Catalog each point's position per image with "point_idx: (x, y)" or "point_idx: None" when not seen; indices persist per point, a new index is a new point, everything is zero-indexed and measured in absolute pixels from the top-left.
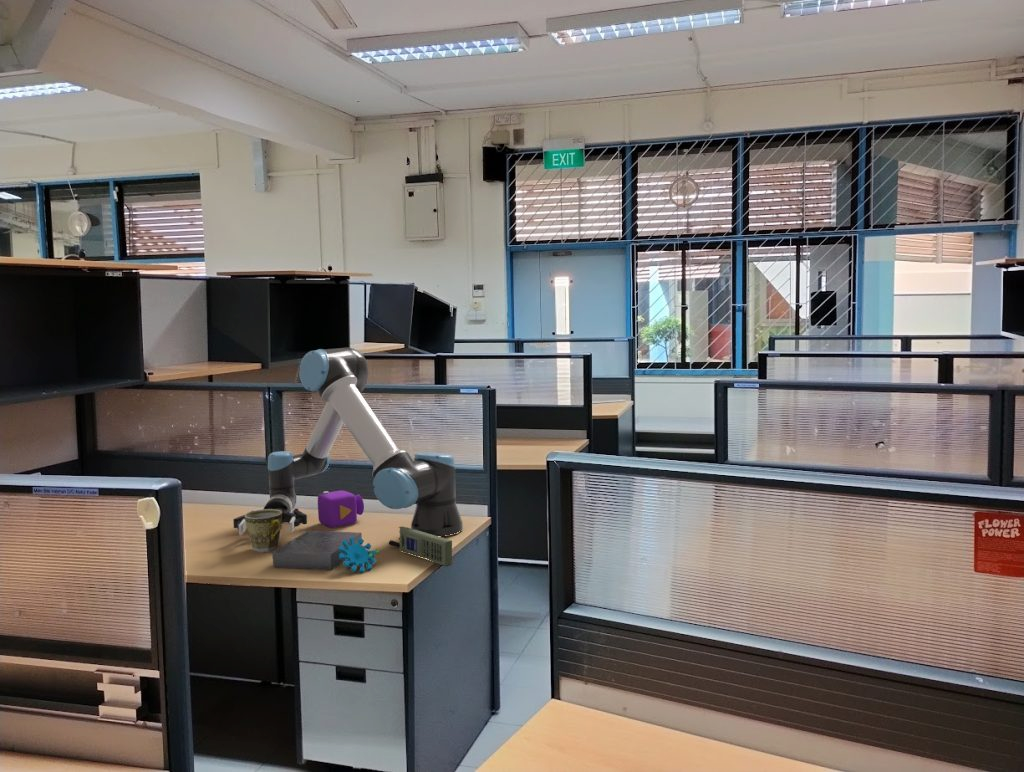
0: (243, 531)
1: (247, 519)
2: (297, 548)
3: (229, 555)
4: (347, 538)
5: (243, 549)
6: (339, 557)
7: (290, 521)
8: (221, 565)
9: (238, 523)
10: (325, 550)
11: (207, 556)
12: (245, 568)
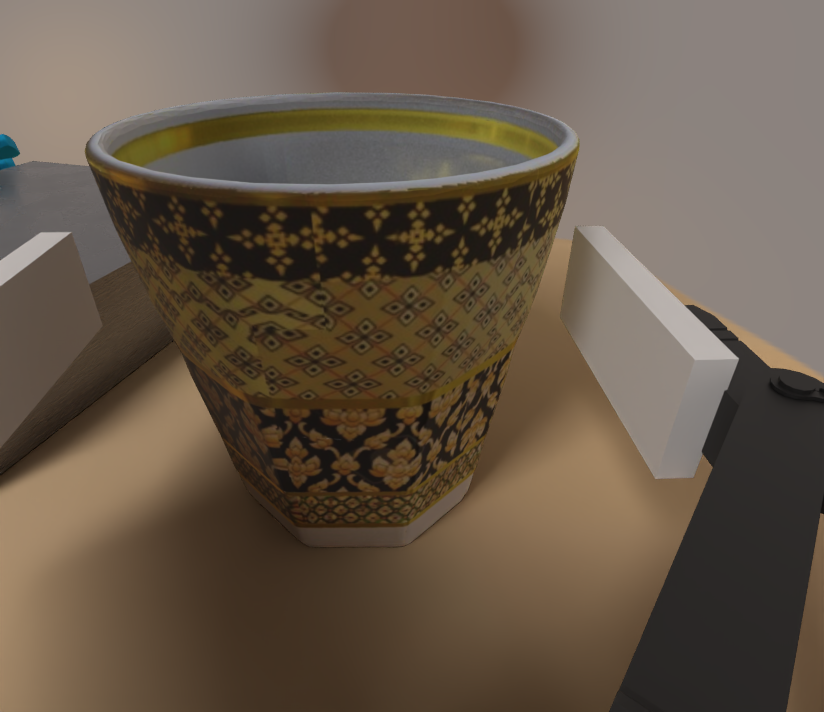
0: (588, 351)
1: (485, 125)
2: None
3: (592, 382)
4: None
5: (558, 476)
6: (17, 148)
7: (42, 250)
8: (542, 286)
9: (726, 336)
10: (24, 179)
11: None
12: None
